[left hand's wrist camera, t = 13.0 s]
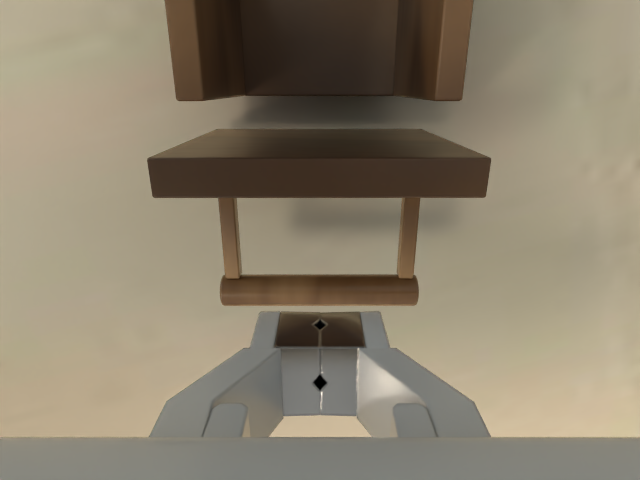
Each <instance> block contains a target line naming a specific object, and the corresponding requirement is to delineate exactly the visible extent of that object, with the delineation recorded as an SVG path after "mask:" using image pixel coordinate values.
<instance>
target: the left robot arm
mask: <svg viewBox="0 0 640 480" xmlns="http://www.w3.org/2000/svg"><path fill="white" fill-rule="evenodd" d="M306 415H334V416H357V419H358V420H359V421H360V422H361V424H362V425H363V426H364V427H365V429H366V430H367V431H368V432H369V434H370V435H371V436H372V437H269V435H270V434H271V433H272V432H273V430H274V429H275V428H276V427H277V425H278V424H279V423H280V422H281V420H282V419H283V416H306ZM0 480H640V437H491V436H490V434H489V432H488V430H487V428H486V425H485V423H484V421H483V419H482V417H481V415H480V413H479V411H478V409H477V407H476V405H475V403H474V402H473V401H472V400H470V399H469V398H467V397H466V396H465V395H463V394H462V393H460V392H459V391H457V390H456V389H454V388H453V387H452V386H450V385H449V384H447V383H446V382H444V381H443V380H441V379H440V378H439V377H437V376H436V375H434V374H433V373H431V372H430V371H428V370H427V369H426V368H424V367H423V366H421V365H420V364H418V363H417V362H415V361H414V360H413V359H411V358H410V357H408V356H407V355H405V354H404V353H402V352H401V351H400V350H398V349H397V348H390V345H389V341H388V337H387V334H386V330H385V327H384V323H383V319H382V316H381V313H380V312H379V311H369V312H326V313H320V312H280V311H266V312H260V313H259V315H258V319H257V323H256V326H255V330H254V334H253V337H252V341H251V345H250V348H243V349H242V350H240V351H239V352H238V353H236V354H235V355H233V356H232V357H230V358H229V359H227V360H226V361H224V362H223V363H222V364H220V365H219V366H217V367H216V368H214V369H213V370H211V371H210V372H209V373H207V374H206V375H204V376H203V377H201V378H200V379H198V380H197V381H195V382H194V383H193V384H191V385H190V386H188V387H187V388H185V389H184V390H182V391H181V392H179V393H178V394H177V395H175V396H174V397H172V398H171V399H169V400H168V401H166V403H165V405H164V407H163V409H162V411H161V413H160V415H159V418H158V420H157V422H156V424H155V426H154V428H153V430H152V432H151V434H150V436H149V437H0Z"/></svg>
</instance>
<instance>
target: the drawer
mask: <svg viewBox="0 0 640 480" xmlns="http://www.w3.org/2000/svg"><path fill="white" fill-rule="evenodd" d="M473 1H474V0H165V7H166V15H167V24H168V32H169V41H170V50H171V58H172V67H173V75H174V84H175V93H176V99H177V100H178V101H206V100H214V99H222V98H230V97H238V96H400V97H408V98H416V99H425V100H433V101H460V100H462V96H463V87H464V79H465V70H466V61H467V53H468V44H469V35H470V27H471V18H472V9H473ZM147 162H148V168H149V175H150V182H151V189H152V196H153V197H154V198H218V201H219V212H220V223H221V234H222V245H223V256H224V267H225V275H223V277H222V280H221V284H220V299H221V303H222V305H224V306H414V305H416V304H417V302H418V296H419V287H418V281H417V278H416V276H415V275H413V274H414V263H415V252H416V241H417V229H418V218H419V207H420V198H484V197H486V191H487V185H488V178H489V171H490V164H491V158H489V157H487V156H484V155H482V154H480V153H477V152H475V151H472V150H470V149H468V148H465V147H463V146H460V145H458V144H456V143H453V142H451V141H449V140H446V139H444V138H441V137H439V136H437V135H434V134H432V133H429V132H427V131H425V130H422V129H216V130H214V131H212V132H209V133H207V134H204V135H202V136H200V137H197V138H195V139H192V140H190V141H188V142H185V143H183V144H180V145H178V146H176V147H173V148H171V149H169V150H166V151H164V152H161V153H159V154H157V155H154V156H152V157H149V158H148V159H147ZM237 198H402V206H401V220H400V234H399V248H398V261H397V274H398V275H241V273H242V266H241V253H240V239H239V225H238V212H237Z"/></svg>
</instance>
